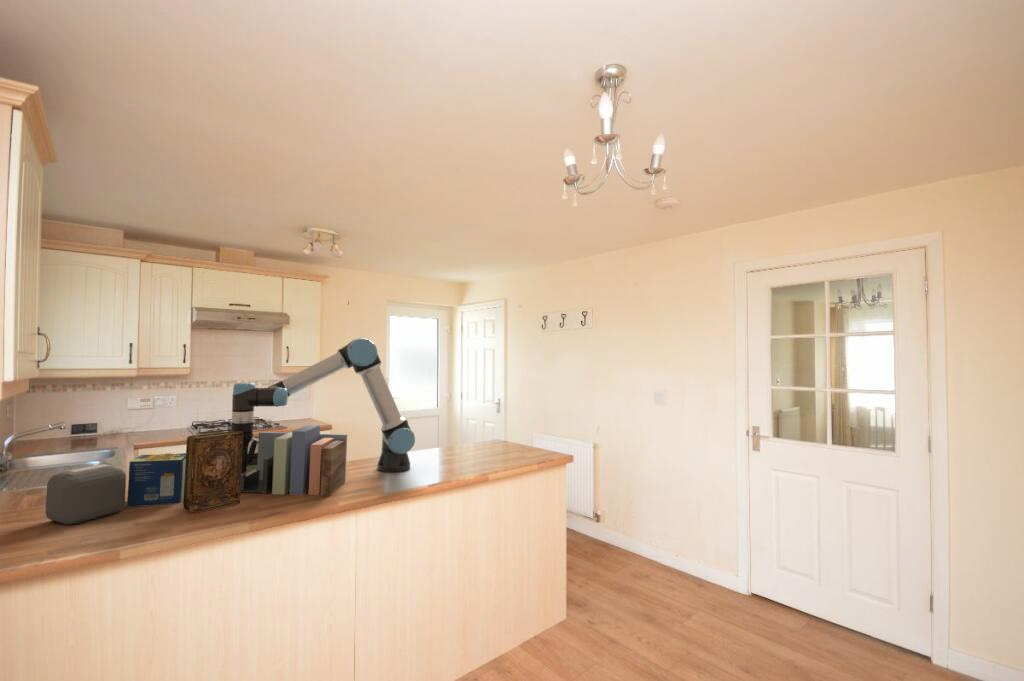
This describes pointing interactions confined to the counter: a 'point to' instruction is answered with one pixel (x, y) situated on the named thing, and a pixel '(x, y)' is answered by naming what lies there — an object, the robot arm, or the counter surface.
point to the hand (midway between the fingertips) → (239, 481)
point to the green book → (282, 464)
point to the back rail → (268, 447)
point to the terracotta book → (317, 465)
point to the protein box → (156, 479)
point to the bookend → (252, 481)
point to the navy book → (302, 457)
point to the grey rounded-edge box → (85, 494)
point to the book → (212, 471)
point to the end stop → (332, 467)
